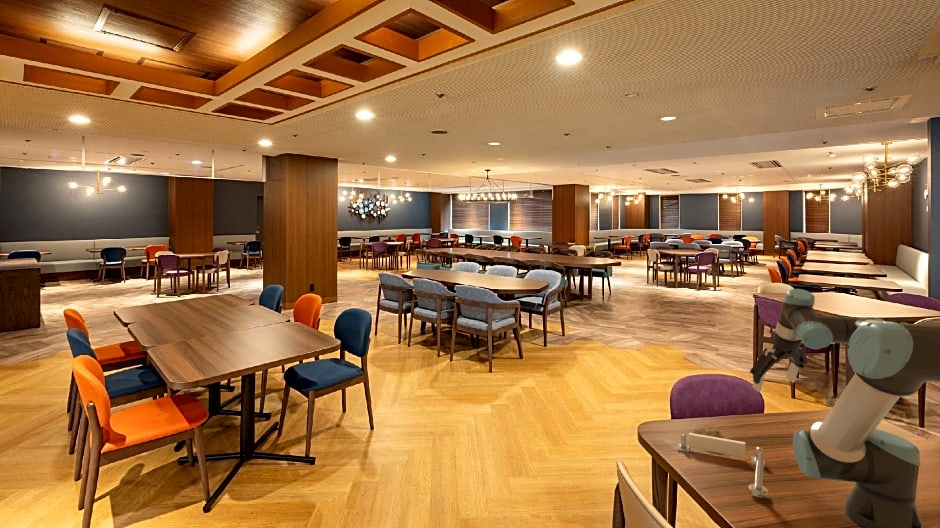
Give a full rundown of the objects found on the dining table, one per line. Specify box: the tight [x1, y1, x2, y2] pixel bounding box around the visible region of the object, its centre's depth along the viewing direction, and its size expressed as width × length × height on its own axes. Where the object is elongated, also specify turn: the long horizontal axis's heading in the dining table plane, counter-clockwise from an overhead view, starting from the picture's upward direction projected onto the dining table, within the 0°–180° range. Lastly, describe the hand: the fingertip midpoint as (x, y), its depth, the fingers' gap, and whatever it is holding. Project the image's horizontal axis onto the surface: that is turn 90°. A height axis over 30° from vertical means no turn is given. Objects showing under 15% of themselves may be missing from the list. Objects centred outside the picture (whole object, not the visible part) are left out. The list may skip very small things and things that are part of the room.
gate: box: [687, 432, 746, 458], centre depth 156 cm, size 2×17×5 cm, turn 66°
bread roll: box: [693, 424, 725, 439], centre depth 165 cm, size 10×10×8 cm
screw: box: [747, 452, 769, 499], centre depth 133 cm, size 13×5×5 cm
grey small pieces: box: [677, 433, 767, 468], centre depth 156 cm, size 4×26×5 cm, turn 66°
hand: (773, 384), depth 158 cm, fingers open, 13 cm apart
